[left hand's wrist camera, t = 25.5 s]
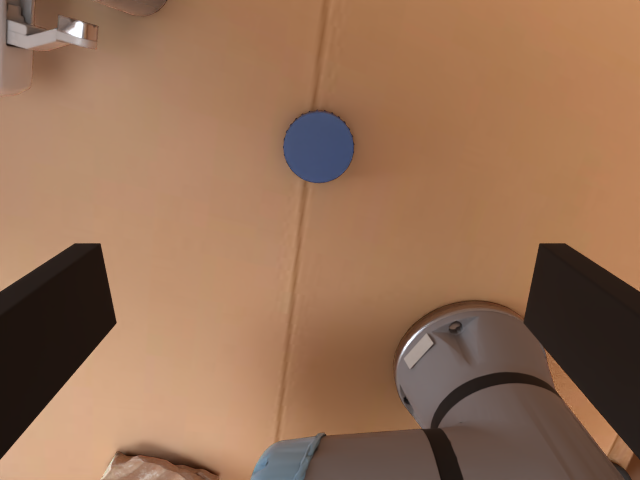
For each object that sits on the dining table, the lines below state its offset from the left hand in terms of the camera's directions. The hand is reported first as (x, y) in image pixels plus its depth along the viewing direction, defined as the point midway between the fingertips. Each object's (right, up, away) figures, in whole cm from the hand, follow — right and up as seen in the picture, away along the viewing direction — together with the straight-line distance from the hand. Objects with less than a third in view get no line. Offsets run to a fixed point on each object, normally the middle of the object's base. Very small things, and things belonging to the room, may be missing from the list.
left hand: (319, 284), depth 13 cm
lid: (0, +9, +22) cm, 24 cm away
